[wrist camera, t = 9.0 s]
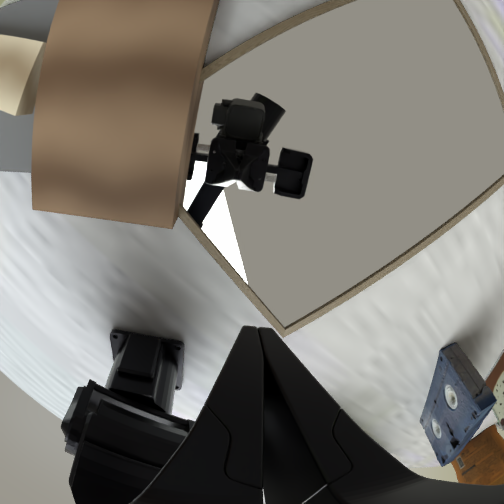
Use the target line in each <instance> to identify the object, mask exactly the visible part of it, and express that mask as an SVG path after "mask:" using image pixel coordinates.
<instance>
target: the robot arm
mask: <svg viewBox="0 0 504 504" xmlns="http://www.w3.org/2000/svg"><path fill="white" fill-rule="evenodd" d="M115 335H117V336H115ZM110 340H111V347H112V353H113V359H114V363H113V366H112V369H111V371H110V374H109V377H108V380H107V383H106V386H105V388H104V387H102V386H100V385H98V384H96V382H94V381H92V380H89V382H88V385H87V387H86V386H84V387H78V388H77V390H76V393H75V395H74V398H73V400H72V403H71V405H70V407H69V409H68V411H67V413H66V415H65V417H64V419H63V421H62V424H61V429H62V431H63V433H64V435H65V442H67V444H66V447H65V452H67V453H70V454H72V455H74V456H75V458H74V461H73V465H72V468H71V473H70V477H69V485H70V487H71V490H72V494H73V497H74V500H75V503H76V504H263V491H262V490H263V489H264V496H265V502H266V504H504V484H501V485H476V484H465V483H456V482H449V481H442V480H435V479H429V478H426V477H423V476H420V475H418V474H416V473H414V472H412V471H411V470H409V469H408V468H407V467H405V466H404V465H403V464H402V463H401V462H399V461H398V460H397V459H396V458H394V457H393V456H392V455H391V454H390V453H388V452H387V451H386V450H385V449H384V448H382V447H381V446H380V445H379V444H378V443H377V442H375V441H374V440H373V439H372V438H371V437H370V436H369V435H368V434H367V433H365V432H364V431H363V430H362V429H361V428H360V427H359V426H358V425H357V424H356V423H355V422H354V421H353V419H352V418H351V417H350V416H349V415H348V414H347V413H346V412H345V411H344V410H343V409H340V408H341V407H340V405H339V404H338V403H337V402H336V401H335V400H334V399H333V398H332V397H331V395H330V394H329V393H328V392H327V391H326V390H325V389H324V388H323V386H322V385H321V384H320V383H319V382H318V381H317V380H316V379H315V377H314V376H313V375H312V374H311V373H310V372H309V371H308V369H307V368H306V367H305V366H304V365H303V364H302V363H301V361H300V360H299V359H298V358H297V357H296V356H295V354H294V353H293V352H292V351H291V350H290V349H289V348H288V346H287V345H286V344H285V343H284V342H283V341H282V339H281V338H280V337H279V336H278V335H277V333H276V332H275V331H274V330H273V329H272V328H265V327H259V328H257V327H255V326H243V327H242V328H241V330H240V333H239V335H238V337H237V339H236V341H235V343H234V345H233V347H232V349H231V351H230V353H229V355H228V357H227V359H226V362H225V364H224V366H223V368H222V370H221V372H220V374H219V376H218V378H217V380H216V382H215V384H214V386H213V388H212V390H211V392H210V394H209V396H208V398H207V400H206V402H205V404H204V406H203V408H202V410H201V412H200V414H199V416H198V417H197V419H196V421H192V420H189V419H188V420H185V419H182V418H179V417H176V416H174V415H171V414H172V406H173V399H174V392H175V390H180V389H181V387H182V372H183V356H184V344H183V343H182V342H181V341H176V340H170V339H164V338H158V337H152V336H147V335H141V334H136V333H131V332H125V331H121V330H112V331H111V333H110ZM177 346H179V347H177Z"/></svg>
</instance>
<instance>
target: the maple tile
mask: <svg viewBox="0 0 504 504" xmlns="http://www.w3.org/2000/svg"><path fill="white" fill-rule="evenodd" d="M45 47H46V43H45V42H41V41H36V40H31V39H25V38H20V37H14V36H7V35H0V110H1V111H4V112H6V113H9V114H11V115H14V116H19V115H27V114H32V113H33V110H34V107H35V104H36V96H37V89H38V83H39V77H40V71H41V66H42V61H43V56H44V52H45Z"/></svg>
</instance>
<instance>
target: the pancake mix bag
mask: <svg viewBox="0 0 504 504" xmlns="http://www.w3.org/2000/svg"><path fill="white" fill-rule="evenodd" d="M451 464H452V465H453V467H454V469H455V471H456V474H457V479H458V481H459V483H465V484H476V485H501V484H504V439H503V438H502V437H501V436H500V435H499V433H498V432H497V428H496V425H492V426H490V427H488V428H487V429H485V430H484V431H483V432H481V433H480V434H479V435H477V436H476V437H475V438H473V439H472V440H471V441H469V442H468V443H467V444H466V446H465V447H464V449H463V450H462V451H461V452H460V454H459V455H458V456H457V457H456V458H455V460H454V461H452V462H451Z"/></svg>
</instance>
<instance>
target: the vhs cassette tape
mask: <svg viewBox="0 0 504 504" xmlns="http://www.w3.org/2000/svg"><path fill="white" fill-rule="evenodd" d="M496 401H497V399H496V397H495V396H494V394H493V392H492V391H491V389H490V388H489V387H488V386H486V382H485V381H484V379H483V378H482V377H481V375H480V374H479V373H478V371H477V370H476V368H475V367H474V366H473V365H472V363H471V362H470V360H469V359H468V358H467V356H466V355H465V354H464V353H463V351H462V350H461V348H460V347H459V346H458V345H457V343H454V344H452V345H449V346H447V347H446V348H444V349H441V350H440V351H439V357H438V361H437V365H436V368H435V372H434V376H433V380H432V383H431V387H430V390H429V393H428V397H427V400H426V403H425V406H424V409H423V412H422V415H421V418H420V423H421V424H422V426H423V429H425V433H426V435H427V437H428V439H429V441H430V443H431V446H432V448H433V450H434V451H435V454H436V457H437V460H438V461H439V463H440V464H441V466H442V467H443V466H445V465H447V464H449V463H450V462H452V461H454V460H455V458H456V457H457V456H458V455H459V454H460V452H461V451H462V450H463V449H464V447H465V446H466V444H467V443H468V442H469V441H470V440H471V438H472V437H473V435H474V434H475V432H476V431H477V430H478V429H479V427H480V426H481V424H482V422H483V420H484V419H485V417H486V416H487V415H488V414H489V412H490V411H491V409H492V408H493V406H494V404H495V403H496Z"/></svg>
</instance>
